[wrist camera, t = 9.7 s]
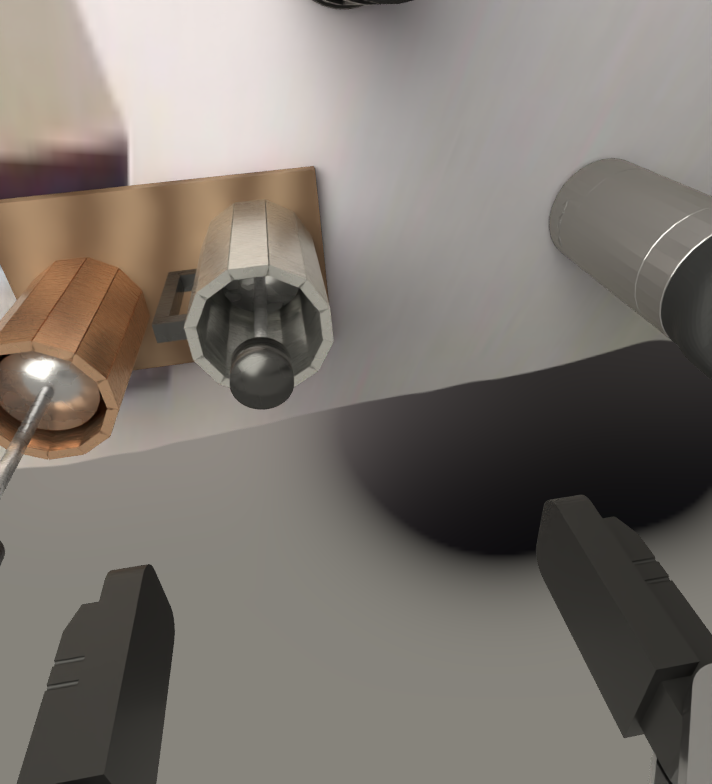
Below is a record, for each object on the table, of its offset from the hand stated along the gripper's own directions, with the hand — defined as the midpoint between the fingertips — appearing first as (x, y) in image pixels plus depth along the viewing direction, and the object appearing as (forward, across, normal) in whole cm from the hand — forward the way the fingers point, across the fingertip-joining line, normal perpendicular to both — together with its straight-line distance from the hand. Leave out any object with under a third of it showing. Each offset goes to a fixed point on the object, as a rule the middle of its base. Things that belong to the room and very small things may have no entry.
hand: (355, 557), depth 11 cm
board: (+40, +10, +10) cm, 43 cm away
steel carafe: (+39, +4, +8) cm, 40 cm away
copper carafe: (+39, +19, +11) cm, 45 cm away
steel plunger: (+35, +3, +8) cm, 36 cm away
